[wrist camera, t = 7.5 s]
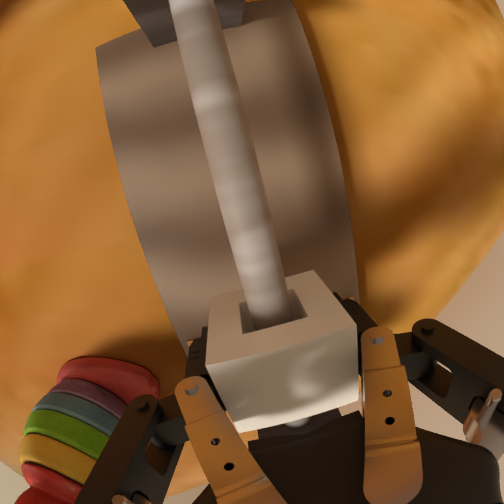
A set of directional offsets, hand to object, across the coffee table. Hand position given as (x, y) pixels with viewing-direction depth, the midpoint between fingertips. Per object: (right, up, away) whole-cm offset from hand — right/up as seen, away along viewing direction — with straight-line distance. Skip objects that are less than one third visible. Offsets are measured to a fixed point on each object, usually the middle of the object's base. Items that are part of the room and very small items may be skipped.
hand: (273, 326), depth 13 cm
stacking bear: (-14, -9, +7) cm, 19 cm away
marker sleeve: (0, 0, +1) cm, 1 cm away
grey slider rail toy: (-1, +6, +4) cm, 7 cm away
